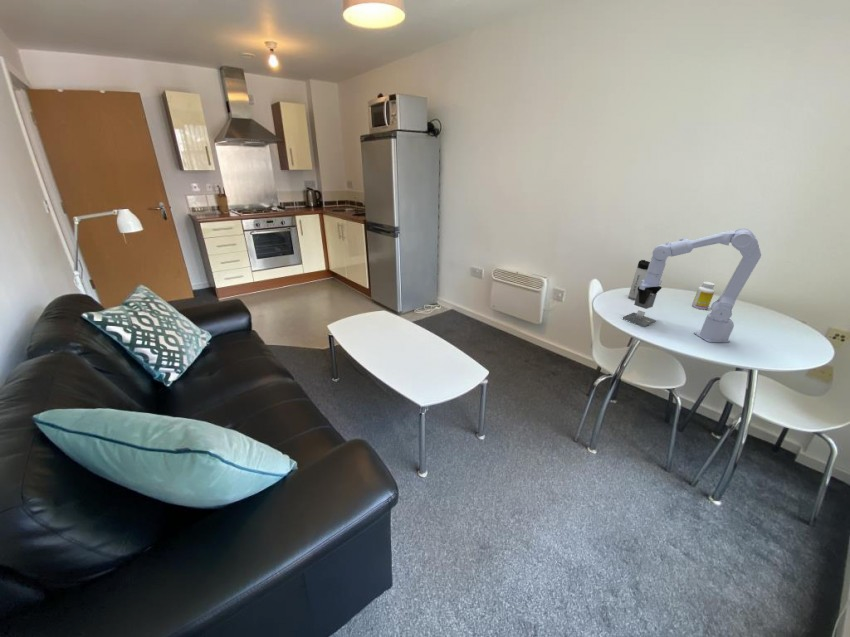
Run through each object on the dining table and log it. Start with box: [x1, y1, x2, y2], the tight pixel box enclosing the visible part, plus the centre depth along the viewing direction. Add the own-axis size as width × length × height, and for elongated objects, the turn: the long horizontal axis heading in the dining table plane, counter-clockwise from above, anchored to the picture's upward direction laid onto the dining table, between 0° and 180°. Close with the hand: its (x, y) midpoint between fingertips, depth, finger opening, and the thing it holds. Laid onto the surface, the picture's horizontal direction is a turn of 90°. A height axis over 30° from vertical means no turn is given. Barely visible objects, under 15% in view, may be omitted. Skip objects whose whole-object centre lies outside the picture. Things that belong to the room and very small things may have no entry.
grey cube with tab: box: [633, 292, 657, 310], centre depth 156 cm, size 5×5×6 cm
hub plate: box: [622, 310, 657, 328], centre depth 159 cm, size 10×10×4 cm
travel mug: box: [627, 259, 650, 301], centre depth 182 cm, size 6×7×20 cm
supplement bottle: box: [691, 281, 716, 310], centre depth 175 cm, size 7×7×13 cm
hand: (645, 302), depth 157 cm, fingers closed on grey cube with tab, 5 cm apart
